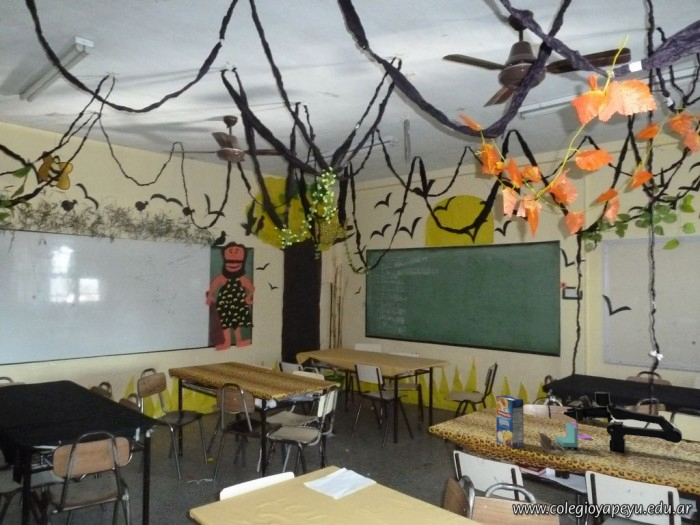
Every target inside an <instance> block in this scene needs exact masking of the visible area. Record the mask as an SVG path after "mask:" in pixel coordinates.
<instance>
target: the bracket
mask: <svg viewBox="0 0 700 525" xmlns="http://www.w3.org/2000/svg"><path fill="white" fill-rule="evenodd" d="M570 423H571V424H572V425H574V426H575V427H577V428H578V429H579V424H578V422H576V421H573V422H570ZM565 435H566V436H567V428H566V427H565ZM579 438H580V440H582V439H584V440H583V441H591V440H592V437H591V435H587V434H583V433H580V432H578V439H579Z"/></svg>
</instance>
